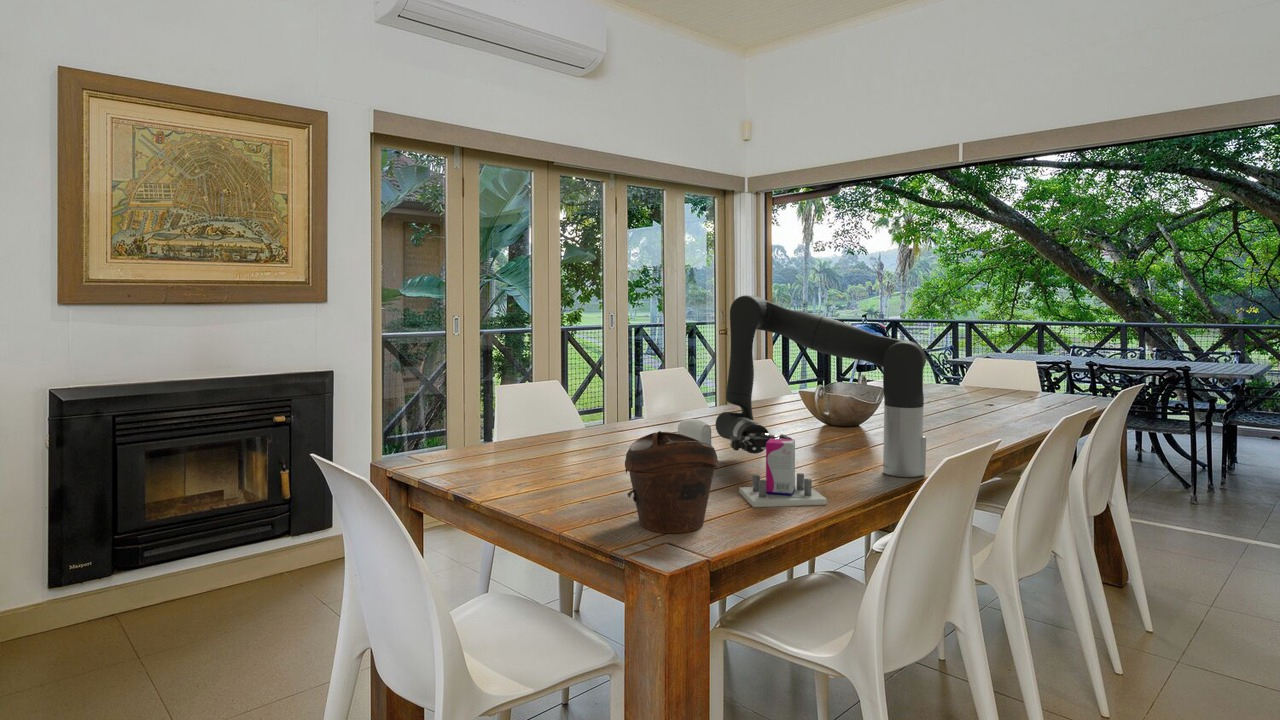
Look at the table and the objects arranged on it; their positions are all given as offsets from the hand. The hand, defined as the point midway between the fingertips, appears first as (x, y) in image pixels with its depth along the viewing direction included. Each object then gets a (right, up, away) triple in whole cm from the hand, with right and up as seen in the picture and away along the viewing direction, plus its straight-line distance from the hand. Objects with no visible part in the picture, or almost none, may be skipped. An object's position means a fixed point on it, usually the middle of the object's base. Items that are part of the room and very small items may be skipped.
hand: (769, 448), depth 168 cm
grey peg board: (+1, -10, -9) cm, 14 cm away
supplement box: (+1, -9, -9) cm, 13 cm away
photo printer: (-16, -8, +24) cm, 30 cm away
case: (-24, -12, -27) cm, 38 cm away
